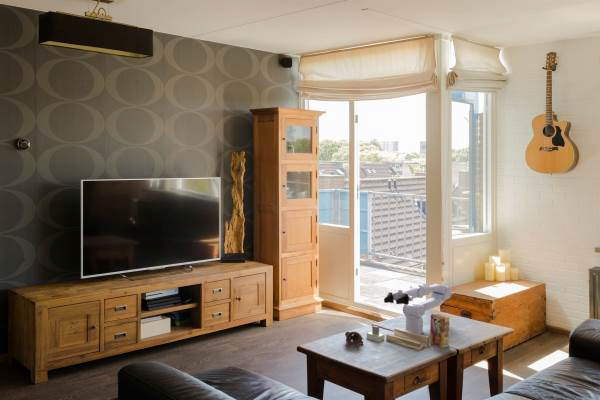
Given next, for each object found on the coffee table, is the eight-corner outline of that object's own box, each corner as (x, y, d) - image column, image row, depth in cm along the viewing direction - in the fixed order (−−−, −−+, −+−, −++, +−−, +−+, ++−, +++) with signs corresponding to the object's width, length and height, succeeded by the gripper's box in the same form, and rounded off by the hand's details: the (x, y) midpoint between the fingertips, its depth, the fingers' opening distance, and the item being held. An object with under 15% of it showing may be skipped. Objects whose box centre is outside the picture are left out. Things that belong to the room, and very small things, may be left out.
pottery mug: (368, 347, 290) (366, 335, 285) (354, 358, 286) (352, 346, 281) (352, 335, 299) (349, 323, 294) (338, 345, 295) (336, 334, 290)
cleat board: (396, 336, 305) (396, 328, 304) (429, 345, 291) (429, 336, 290) (386, 340, 298) (386, 331, 298) (419, 349, 284) (419, 340, 284)
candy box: (449, 346, 290) (450, 316, 288) (443, 348, 287) (444, 318, 286) (434, 341, 297) (435, 312, 295) (429, 343, 294) (430, 314, 293)
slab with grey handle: (372, 336, 305) (372, 323, 304) (384, 340, 299) (384, 327, 298) (366, 338, 301) (366, 325, 301) (379, 342, 296) (379, 329, 295)
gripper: (394, 287, 309) (378, 292, 300) (417, 288, 299) (401, 294, 289) (396, 300, 309) (380, 305, 300) (418, 302, 299) (402, 308, 290)
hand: (390, 301), depth 295 cm, fingers open, 7 cm apart
